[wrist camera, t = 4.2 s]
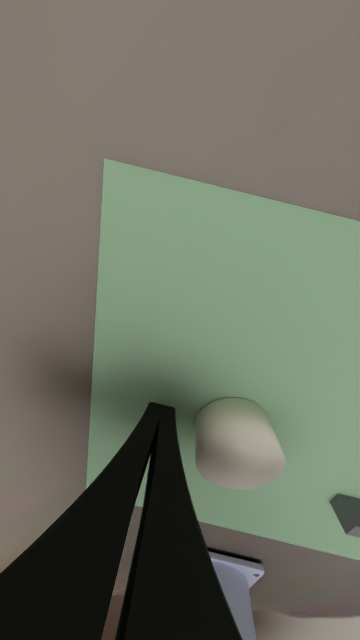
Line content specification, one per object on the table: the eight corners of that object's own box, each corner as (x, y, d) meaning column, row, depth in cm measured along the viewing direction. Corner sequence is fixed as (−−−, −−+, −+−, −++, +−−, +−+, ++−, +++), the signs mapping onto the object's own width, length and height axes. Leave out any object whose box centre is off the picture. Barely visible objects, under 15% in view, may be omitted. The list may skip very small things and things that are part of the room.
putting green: (410, 567, 15) (414, 573, 15) (87, 489, 15) (85, 493, 15) (813, 335, 7) (838, 339, 7) (107, 161, 7) (104, 158, 7)
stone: (247, 456, 11) (256, 497, 10) (185, 436, 11) (183, 475, 9) (284, 412, 10) (304, 452, 8) (213, 387, 10) (217, 423, 8)
